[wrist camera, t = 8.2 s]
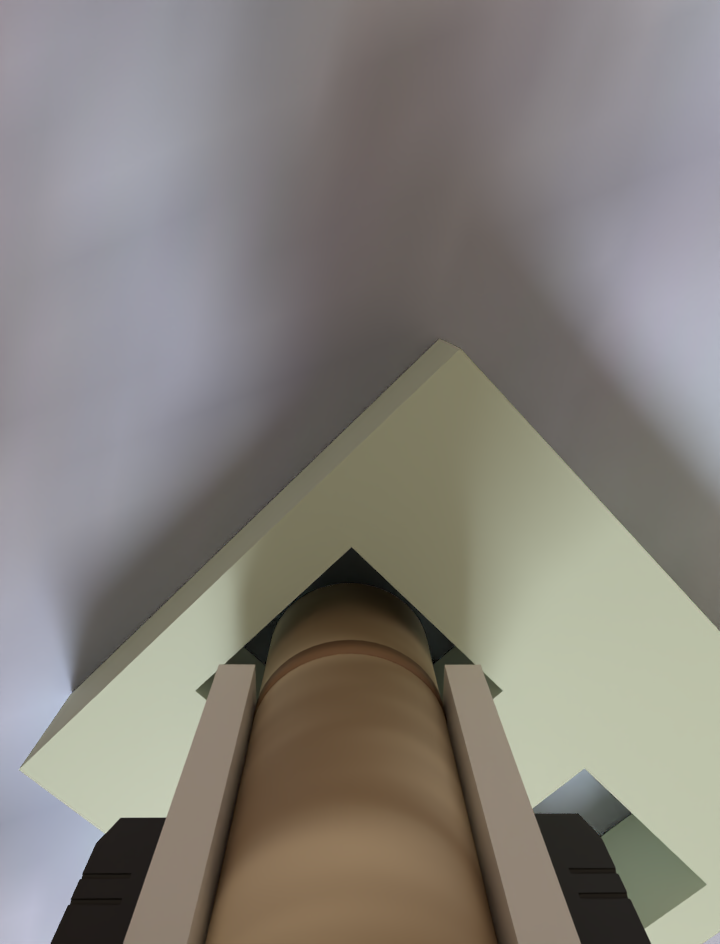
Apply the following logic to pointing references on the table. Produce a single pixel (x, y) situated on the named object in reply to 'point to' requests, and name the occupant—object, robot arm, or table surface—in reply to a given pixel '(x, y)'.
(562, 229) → the table surface
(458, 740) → the robot arm
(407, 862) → the peg
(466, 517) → the board
